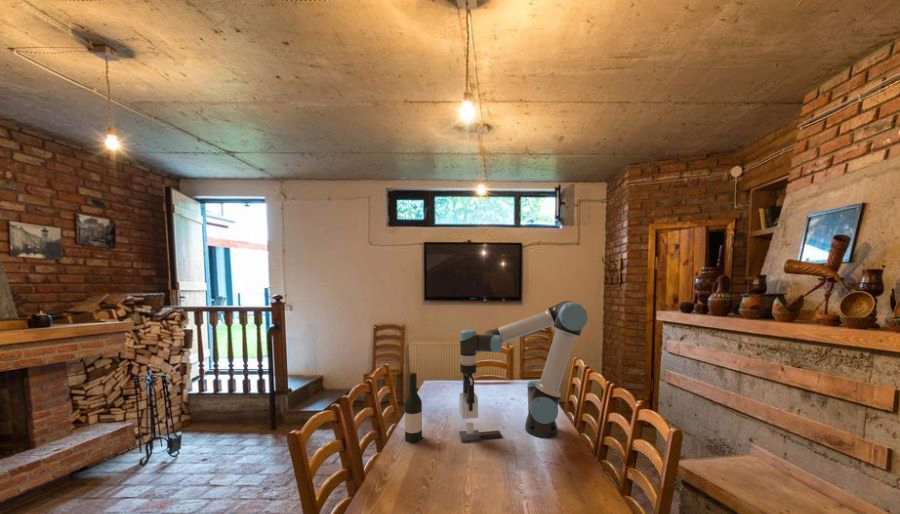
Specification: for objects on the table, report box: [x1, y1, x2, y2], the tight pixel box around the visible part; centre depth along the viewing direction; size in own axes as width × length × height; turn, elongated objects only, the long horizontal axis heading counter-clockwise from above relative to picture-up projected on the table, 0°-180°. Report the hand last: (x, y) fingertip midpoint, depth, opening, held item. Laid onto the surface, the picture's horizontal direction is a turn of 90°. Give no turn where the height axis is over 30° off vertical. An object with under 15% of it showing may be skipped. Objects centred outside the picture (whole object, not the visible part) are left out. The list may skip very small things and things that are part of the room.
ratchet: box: [458, 421, 502, 443], centre depth 151 cm, size 19×5×6 cm, turn 99°
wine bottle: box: [404, 371, 423, 444], centre depth 153 cm, size 8×8×30 cm
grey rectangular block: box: [459, 392, 479, 420], centre depth 152 cm, size 7×7×9 cm
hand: (468, 413), depth 151 cm, fingers closed on grey rectangular block, 7 cm apart
